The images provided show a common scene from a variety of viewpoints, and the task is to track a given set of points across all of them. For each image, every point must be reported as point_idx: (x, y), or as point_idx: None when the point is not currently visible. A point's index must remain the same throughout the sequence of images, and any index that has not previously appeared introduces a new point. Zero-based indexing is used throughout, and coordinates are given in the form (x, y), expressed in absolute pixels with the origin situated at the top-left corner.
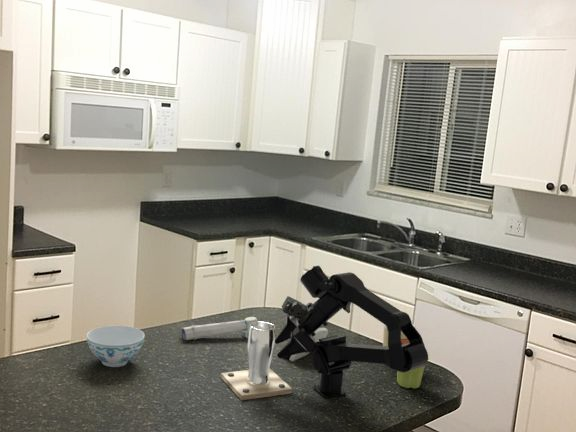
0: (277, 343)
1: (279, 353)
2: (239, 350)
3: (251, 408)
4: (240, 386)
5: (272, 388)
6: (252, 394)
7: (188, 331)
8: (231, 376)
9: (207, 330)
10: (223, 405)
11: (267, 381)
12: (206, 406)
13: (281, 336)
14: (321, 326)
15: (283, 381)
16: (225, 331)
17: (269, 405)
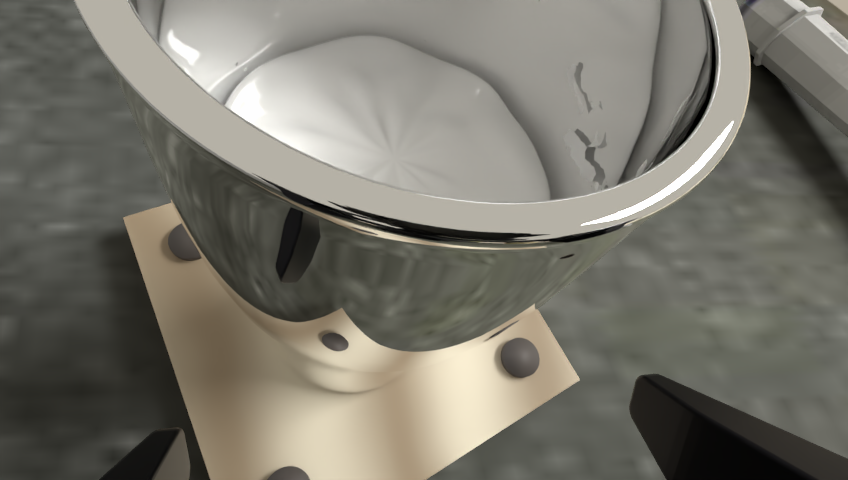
0: (634, 418)
1: (116, 468)
2: (756, 225)
3: (2, 288)
4: None
5: (244, 418)
6: (146, 282)
7: (769, 8)
8: None
9: (822, 69)
10: (68, 142)
11: (305, 374)
12: (64, 71)
13: (728, 472)
14: None
15: None
16: None
17: (37, 408)
